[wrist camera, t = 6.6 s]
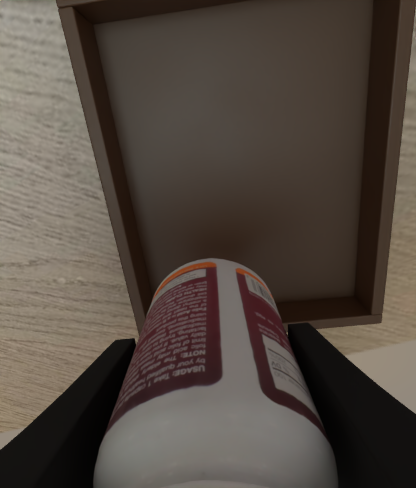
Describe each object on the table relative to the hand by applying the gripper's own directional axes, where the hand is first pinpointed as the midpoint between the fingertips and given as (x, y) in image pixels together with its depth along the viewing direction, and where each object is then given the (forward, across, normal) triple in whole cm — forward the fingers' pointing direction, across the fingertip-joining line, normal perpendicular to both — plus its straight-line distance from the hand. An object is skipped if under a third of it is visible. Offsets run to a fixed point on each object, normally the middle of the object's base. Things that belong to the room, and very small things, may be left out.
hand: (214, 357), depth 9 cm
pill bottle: (+3, 0, 0) cm, 3 cm away
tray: (+9, -2, -4) cm, 10 cm away
